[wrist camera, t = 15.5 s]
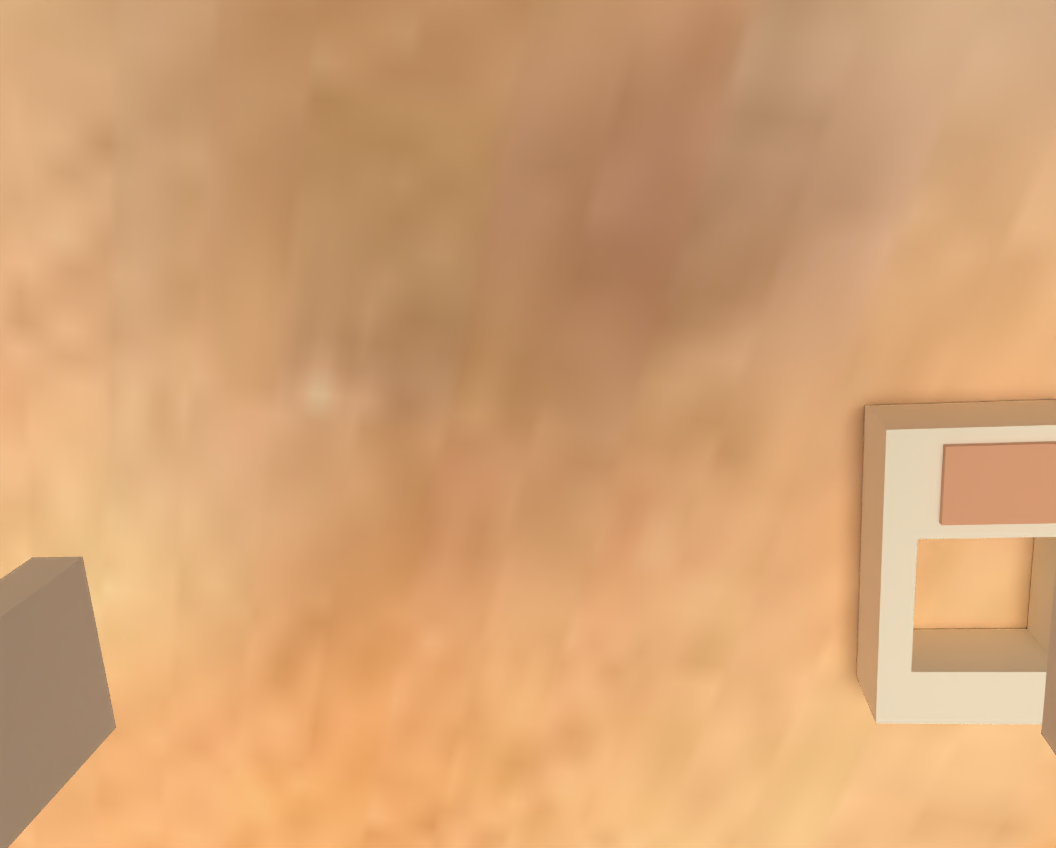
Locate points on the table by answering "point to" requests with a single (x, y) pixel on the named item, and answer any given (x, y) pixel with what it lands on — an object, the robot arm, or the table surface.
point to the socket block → (948, 513)
